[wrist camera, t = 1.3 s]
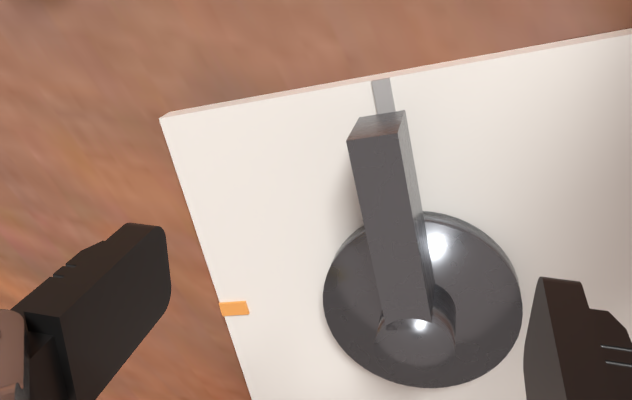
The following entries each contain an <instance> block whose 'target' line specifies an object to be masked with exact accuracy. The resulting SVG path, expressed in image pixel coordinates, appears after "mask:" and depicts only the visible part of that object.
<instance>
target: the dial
mask: <svg viewBox="0 0 632 400" xmlns="http://www.w3.org/2000/svg"><path fill="white" fill-rule="evenodd" d="M346 144H347V148H348V153H349V158H350V162H351V167H352V172H353V176H354V181H355V186H356V190H357V195H358V200H359V204H360V209H361V213H362V218H363V223H364V225H363V226H362V227H360V228H358V229H357V230H356V231H355V232H354V233H352V234H351V235H350V236H349V237H348V238H347V239H346V240H345V241H344V243H343V244H342V245H341V246H340V248H339V249H338V251H337V253H336V254H335V257H334V259H333V261H332V263H331V266H330V268H329V271H328V273H327V276H326V280H325V283H324V289H323V308H324V314H325V318H326V321H327V324H328V326H329V329H330V331H331V333H332V335H333V336H334V338H335V339H336V341H337V342H338V344H339V345H340V347H341V348H342V349H343V350H344V351H345V352H346V354H347V355H349V356H350V357H351V358H352V359H353V360H354V361H355V362H356V363H358V364H359V365H360V366H362V367H363V368H364V369H366V370H368V371H370V372H371V373H373V374H375V375H377V376H379V377H381V378H383V379H385V380H388V381H391V382H394V383H397V384H401V385H406V386H411V387H418V388H444V387H450V386H456V385H460V384H463V383H467V382H470V381H472V380H474V379H477V378H479V377H481V376H482V375H484V374H486V373H488V372H489V371H491V370H492V369H493V368H495V367H496V366H497V365H498V364H499V363H500V362H501V361H502V360H503V359H504V358H505V357H506V356H507V355H508V353H509V352H510V351H511V349H512V348H513V346H514V344H515V342H516V340H517V338H518V335H519V332H520V329H521V325H522V317H523V308H522V298H521V292H520V286H519V281H518V277H517V275H516V272H515V269H514V267H513V265H512V263H511V261H510V260H509V258H508V256H507V255H506V254H505V252H504V251H503V250H502V248H501V247H500V246H499V245H498V244H497V243H496V242H495V241H494V240H493V239H492V238H491V237H489V236H488V235H487V234H486V233H484V232H483V231H482V230H480V229H478V228H477V227H475V226H473V225H472V224H470V223H468V222H465V221H463V220H461V219H459V218H456V217H453V216H449V215H446V214H441V213H436V212H429V211H423V210H422V204H421V199H420V193H419V187H418V181H417V175H416V170H415V164H414V158H413V152H412V146H411V141H410V135H409V129H408V123H407V117H406V112H405V110H401V111H395V112H389V113H383V114H376V115H370V116H364V117H359V118H358V120H357V122H356V124H355V126H354V127H353V129H352V131H351V133H350V134H349V136H348V138H347V140H346Z"/></svg>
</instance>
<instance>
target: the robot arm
mask: <svg viewBox="0 0 632 400" xmlns="http://www.w3.org/2000/svg"><path fill="white" fill-rule="evenodd" d="M170 296H171V280H170V271H169V262H168V253H167V244H166V236H165V232H164V230H163V229H162V228H161V227H159V226H152V225H144V224H136V223H126V224H125V225H123V226H122V227H121V228H120V229H119V230H117V231H116V232H115V233H114V234H113V235H112V236H110V237H109V238H108V239H107V240H106V241H101V242H99V243H97V244H95V245H93V246H91V247H88V248H86V249H84V250H82V251H80V252H79V253H78V254H77V255H76V256H74V257H73V258H72V259H71V260H70V261H68V262H67V263H66V266H62V267H61V268H60V269H59V270H58V271H56V272H55V273H54V274H53V277H49V278H48V279H47V280H46V281H44V282H43V283H42V284H41V285H39V286H38V287H37V288H36V289H35V290H33V291H32V292H31V293H30V294H29V295H27V296H26V297H25V298H24V299H23V300H21V301H20V302H19V303H18V304H17V305H15V306H14V307H13V308H12V309H11V310H6V309H0V400H95V399H96V398H97V397H98V396H99V394H100V393H101V392H102V391H103V389H104V388H105V387H106V386H107V384H108V383H109V382H110V381H111V379H112V378H113V377H114V375H115V374H116V373H117V372H118V370H119V369H120V368H121V367H122V365H123V364H124V363H125V362H126V360H127V359H128V358H129V357H130V355H131V354H132V353H133V352H134V350H135V349H136V348H137V347H138V345H139V344H140V343H141V342H142V340H143V339H144V338H145V337H146V335H147V334H148V333H149V331H150V330H151V329H152V328H153V326H154V325H155V324H156V323H157V321H158V320H159V319H160V318H161V316H162V315H163V314H164V312H165V311H166V309H167V306H168V304H169V300H170ZM523 373H524V382H525V390H526V399H527V400H632V342H631V340H630V337H629V334H628V332H627V329H626V328H625V327H624V326H623V325H622V324H621V323H620V322H619V321H618V320H617V319H616V318H615V317H614V316H613V315H612V314H611V313H610V312H609V311H604V310H597V309H590V308H589V306H588V302H587V299H586V296H585V293H584V289H583V286H582V284H581V282H580V281H572V280H565V279H557V278H549V277H539V279H538V281H537V285H536V289H535V294H534V299H533V304H532V309H531V314H530V319H529V324H528V329H527V334H526V339H525V345H524V355H523Z"/></svg>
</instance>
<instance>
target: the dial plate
mask: <svg viewBox="0 0 632 400" xmlns="http://www.w3.org/2000/svg"><path fill="white" fill-rule="evenodd" d="M401 110H405V112H406V117H407V123H408V129H409V135H410V141H411V146H412V152H413V158H414V164H415V170H416V175H417V181H418V187H419V193H420V199H421V204H422V210H423V211H429V212H436V213H441V214H446V215H449V216H453V217H456V218H459V219H461V220H463V221H465V222H468V223H470V224H472V225H473V226H475V227H477V228H478V229H480V230H482V231H483V232H484V233H486V234H487V235H488V236H489V237H491V238H492V239H493V240H494V241H495V242H496V243H497V244H498V245H499V246H500V247H501V248H502V250H503V251H504V252H505V254H506V255H507V256H508V258H509V260H510V261H511V263H512V265H513V267H514V269H515V272H516V275H517V277H518V281H519V286H520V292H521V298H522V308H523V317H522V325H521V329H520V332H519V335H518V338H517V340H516V342H515V344H514V346H513V348H512V349H511V351H510V352H509V353H508V355H507V356H506V357H505V358H504V359H503V360H502V361H501V362H500V363H499V364H498V365H497V366H496V367H495V368H493V369H492V370H491V371H489V372H488V373H486V374H484V375H482V376H481V377H479V378H477V379H474V380H472V381H470V382H467V383H463V384H460V385H456V386H450V387H444V388H418V387H411V386H406V385H401V384H397V383H394V382H391V381H388V380H385V379H383V378H381V377H379V376H377V375H375V374H373V373H371V372H370V371H368V370H366V369H364V368H363V367H362V366H360V365H359V364H358V363H356V362H355V361H354V360H353V359H352V358H351V357H350V356H349V355H347V354H346V352H345V351H344V350H343V349H342V348H341V347H340V345H339V344H338V342H337V341H336V339H335V338H334V336H333V335H332V333H331V331H330V329H329V326H328V324H327V321H326V318H325V314H324V308H323V289H324V283H325V280H326V276H327V273H328V271H329V268H330V266H331V263H332V261H333V259H334V257H335V254H336V253H337V251H338V249H339V248H340V246H341V245H342V244H343V243H344V241H345V240H346V239H347V238H348V237H349V236H350V235H351V234H352V233H354V232H355V231H356V230H357V229H358V228H360V227H362V226H363V225H364V223H363V218H362V213H361V209H360V204H359V200H358V195H357V190H356V186H355V181H354V176H353V172H352V167H351V162H350V158H349V153H348V148H347V144H346V140H347V138H348V136H349V134H350V133H351V131H352V129H353V127H354V126H355V124H356V122H357V120H358V118H359V117H364V116H370V115H376V114H383V113H389V112H395V111H401ZM159 121H160V124H161V127H162V130H163V133H164V136H165V139H166V142H167V145H168V148H169V151H170V154H171V157H172V160H173V163H174V166H175V169H176V172H177V175H178V178H179V181H180V184H181V187H182V190H183V193H184V196H185V199H186V202H187V205H188V208H189V211H190V214H191V217H192V220H193V223H194V226H195V229H196V232H197V235H198V238H199V241H200V244H201V247H202V250H203V253H204V257H205V260H206V263H207V266H208V269H209V272H210V275H211V278H212V281H213V284H214V287H215V290H216V293H217V296H218V299H219V302H220V303H219V307H220V310H221V313H222V316H224V317H225V320H226V323H227V326H228V329H229V332H230V335H231V338H232V341H233V344H234V347H235V350H236V353H237V356H238V359H239V362H240V365H241V368H242V371H243V374H244V377H245V380H246V383H247V386H248V389H249V392H250V395H251V398H252V400H527V399H526V390H525V382H524V373H523V355H524V345H525V339H526V334H527V329H528V324H529V319H530V314H531V309H532V304H533V299H534V294H535V289H536V285H537V281H538V279H539V277H549V278H557V279H565V280H572V281H580V282H581V284H582V286H583V289H584V293H585V296H586V299H587V302H588V306H589V308H590V309H597V310H604V311H609V312H610V313H611V314H612V315H613V316H614V317H615V318H616V319H617V320H618V321H619V322H620V323H621V324H622V325H623V326H624V327H625V328H626V329H627V332H628V334H629V337H630V340H631V342H632V28H630V29H624V30H619V31H613V32H608V33H602V34H597V35H591V36H586V37H580V38H575V39H569V40H564V41H558V42H553V43H547V44H542V45H536V46H531V47H525V48H520V49H514V50H508V51H503V52H497V53H492V54H486V55H481V56H475V57H470V58H464V59H459V60H453V61H448V62H442V63H437V64H431V65H426V66H420V67H415V68H409V69H404V70H398V71H393V72H387V73H382V74H376V75H371V76H365V77H359V78H354V79H348V80H343V81H337V82H332V83H326V84H321V85H315V86H310V87H304V88H299V89H293V90H288V91H282V92H277V93H271V94H266V95H260V96H255V97H249V98H244V99H238V100H233V101H227V102H222V103H216V104H210V105H205V106H199V107H194V108H188V109H183V110H177V111H172V112H169V113H167V114H165V115H164V116H162V117H160V118H159Z"/></svg>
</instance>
